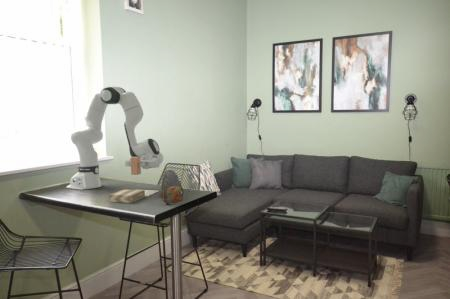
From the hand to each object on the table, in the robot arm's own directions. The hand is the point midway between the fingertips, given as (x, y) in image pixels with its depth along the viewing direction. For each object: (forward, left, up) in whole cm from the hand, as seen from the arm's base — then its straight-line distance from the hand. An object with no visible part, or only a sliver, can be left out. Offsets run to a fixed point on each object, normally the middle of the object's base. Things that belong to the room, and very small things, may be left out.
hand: (134, 165), depth 214 cm
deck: (0, -10, -18) cm, 20 cm away
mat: (0, +6, -18) cm, 19 cm away
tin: (+28, -10, -18) cm, 35 cm away
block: (0, +1, -5) cm, 6 cm away
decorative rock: (+20, +6, -18) cm, 28 cm away
